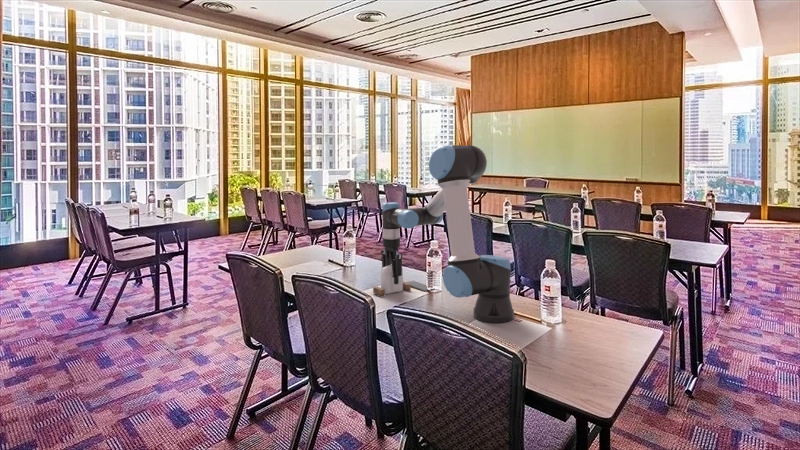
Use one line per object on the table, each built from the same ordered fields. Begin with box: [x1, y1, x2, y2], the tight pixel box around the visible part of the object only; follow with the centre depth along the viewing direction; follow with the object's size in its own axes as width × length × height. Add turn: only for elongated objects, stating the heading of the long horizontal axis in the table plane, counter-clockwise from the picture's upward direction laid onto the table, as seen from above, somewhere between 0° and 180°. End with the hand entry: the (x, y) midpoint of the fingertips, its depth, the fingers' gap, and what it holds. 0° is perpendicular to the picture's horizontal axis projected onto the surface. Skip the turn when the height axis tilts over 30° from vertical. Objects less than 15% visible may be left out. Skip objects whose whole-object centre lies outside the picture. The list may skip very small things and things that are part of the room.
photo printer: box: [380, 264, 404, 295], centre depth 221 cm, size 10×4×12 cm, turn 123°
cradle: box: [372, 281, 412, 297], centre depth 221 cm, size 6×16×3 cm, turn 126°
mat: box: [405, 280, 428, 292], centre depth 230 cm, size 16×6×1 cm, turn 36°
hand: (392, 289), depth 221 cm, fingers closed on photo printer, 4 cm apart
